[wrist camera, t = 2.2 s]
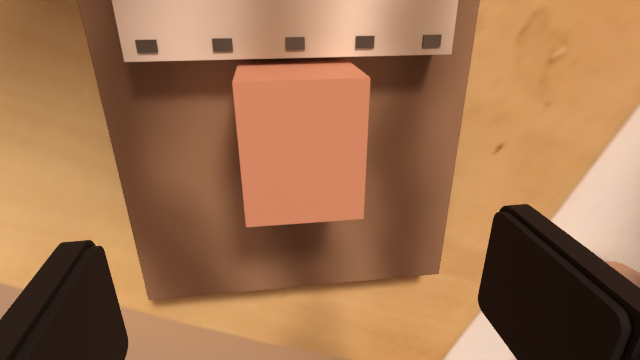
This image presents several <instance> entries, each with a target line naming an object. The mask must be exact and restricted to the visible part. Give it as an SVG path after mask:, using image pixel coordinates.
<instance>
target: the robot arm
mask: <svg viewBox="0 0 640 360" xmlns="http://www.w3.org/2000/svg"><path fill="white" fill-rule="evenodd" d="M478 303H479V306H480V309H481V311H482V312H483V314H484V315H485V316H486V318H487V319H488V320H489V322H490V323H491V324H492V326H493V327H494V329H495V330H496V331H497V333H498V334H499V335H500V337H501V338H502V339H503V341H504V342H505V344H506V345H507V346H508V348H509V349H510V350H511V352H512V353H513V355H514V356H515V357H516V359H517V360H640V288H639V287H638V286H636V285H635V284H634V283H633V282H631V281H630V280H629V279H627V278H626V277H625V276H623V275H622V274H621V273H619V272H618V271H617V270H615V269H614V268H613V267H611V266H610V265H609V264H607V263H606V262H605V261H603V260H602V259H601V258H599V257H598V256H597V255H595V254H594V253H593V252H591V251H590V250H589V249H587V248H586V247H585V246H583V245H582V244H581V243H579V242H578V241H577V240H575V239H574V238H573V237H571V236H570V235H569V234H567V233H566V232H565V231H563V230H562V229H561V228H559V227H558V226H557V225H555V224H554V223H553V222H551V221H550V220H549V219H547V218H546V217H545V216H543V215H542V214H541V213H539V212H538V211H537V210H535V209H534V208H533V207H531V206H530V205H528V204H522V205H509V206H504V207H502V208H501V209H500V211H499V212H497V213H496V214H495V215H494V218H493V223H492V228H491V233H490V238H489V243H488V248H487V254H486V259H485V264H484V269H483V274H482V279H481V284H480V289H479V294H478ZM127 349H128V337H127V333H126V329H125V325H124V322H123V318H122V314H121V310H120V307H119V303H118V299H117V296H116V292H115V288H114V284H113V281H112V277H111V273H110V270H109V266H108V262H107V259H106V255H105V252H104V249H103V247H102V246H95V244H94V243H93V241H91V240H86V241H74V242H63V243H60V244H59V245H58V246H57V248H56V249H55V250H54V252H53V253H52V254H51V255H50V257H49V258H48V259H47V261H46V262H45V263H44V264H43V266H42V267H41V268H40V270H39V271H38V272H37V273H36V275H35V276H34V277H33V279H32V280H31V281H30V282H29V284H28V285H27V286H26V287H25V289H24V290H23V291H22V293H21V294H20V295H19V296H18V298H17V299H16V300H15V302H14V303H13V304H12V305H11V307H10V308H9V309H8V311H7V312H6V313H5V314H4V316H3V317H2V318H1V320H0V360H124V359H125V356H126V353H127Z"/></svg>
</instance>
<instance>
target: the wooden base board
mask: <svg viewBox="0 0 640 360" xmlns="http://www.w3.org/2000/svg"><path fill="white" fill-rule="evenodd" d="M479 2H480V0H78V3H79V8H80V12H81V16H82V20H83V24H84V29H85V33H86V37H87V41H88V46H89V50H90V54H91V58H92V62H93V67H94V71H95V75H96V79H97V84H98V88H99V92H100V96H101V100H102V105H103V109H104V113H105V117H106V122H107V126H108V130H109V134H110V138H111V143H112V147H113V151H114V155H115V160H116V164H117V168H118V172H119V177H120V181H121V185H122V189H123V193H124V198H125V202H126V206H127V210H128V215H129V219H130V223H131V227H132V231H133V236H134V240H135V244H136V248H137V253H138V257H139V261H140V265H141V269H142V274H143V278H144V282H145V286H146V291H147V295H148V299H149V300H156V299H167V298H178V297H189V296H200V295H211V294H222V293H233V292H244V291H255V290H266V289H277V288H288V287H299V286H310V285H321V284H333V283H344V282H355V281H366V280H377V279H388V278H399V277H410V276H421V275H432V274H439V268H440V261H441V255H442V248H443V241H444V235H445V228H446V221H447V215H448V208H449V201H450V195H451V188H452V181H453V175H454V168H455V161H456V155H457V148H458V142H459V135H460V128H461V122H462V115H463V108H464V102H465V95H466V88H467V82H468V75H469V68H470V62H471V55H472V48H473V42H474V35H475V28H476V22H477V15H478V8H479ZM309 58H346V59H347V60H349V61H350V62H351V63H352V64H354V65H355V66H356V67H357V68H359V69H360V70H361V71H363V72H364V73H365V74H366V75H368V76H369V77H370V99H369V119H368V140H367V160H366V181H365V201H364V219H355V220H341V221H328V222H314V223H300V224H286V225H272V226H258V227H246V221H245V211H244V201H243V190H242V180H241V169H240V159H239V148H238V138H237V127H236V117H235V106H234V96H233V85H232V81H233V78H234V75H235V71H236V68H237V65H238V62H239V60H267V59H309Z"/></svg>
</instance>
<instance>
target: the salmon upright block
mask: <svg viewBox="0 0 640 360" xmlns="http://www.w3.org/2000/svg"><path fill="white" fill-rule="evenodd" d="M232 85H233V96H234V106H235V117H236V127H237V138H238V148H239V159H240V169H241V180H242V190H243V201H244V211H245V221H246V227H258V226H272V225H286V224H300V223H314V222H328V221H341V220H355V219H364V201H365V181H366V160H367V140H368V119H369V99H370V77H369V76H368V75H366V74H365V73H364V72H363V71H361V70H360V69H359V68H357V67H356V66H355V65H354V64H352V63H351V62H350V61H349V60H347V59H346V58H309V59H267V60H239V62H238V65H237V68H236V71H235V75H234V78H233V81H232Z"/></svg>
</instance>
